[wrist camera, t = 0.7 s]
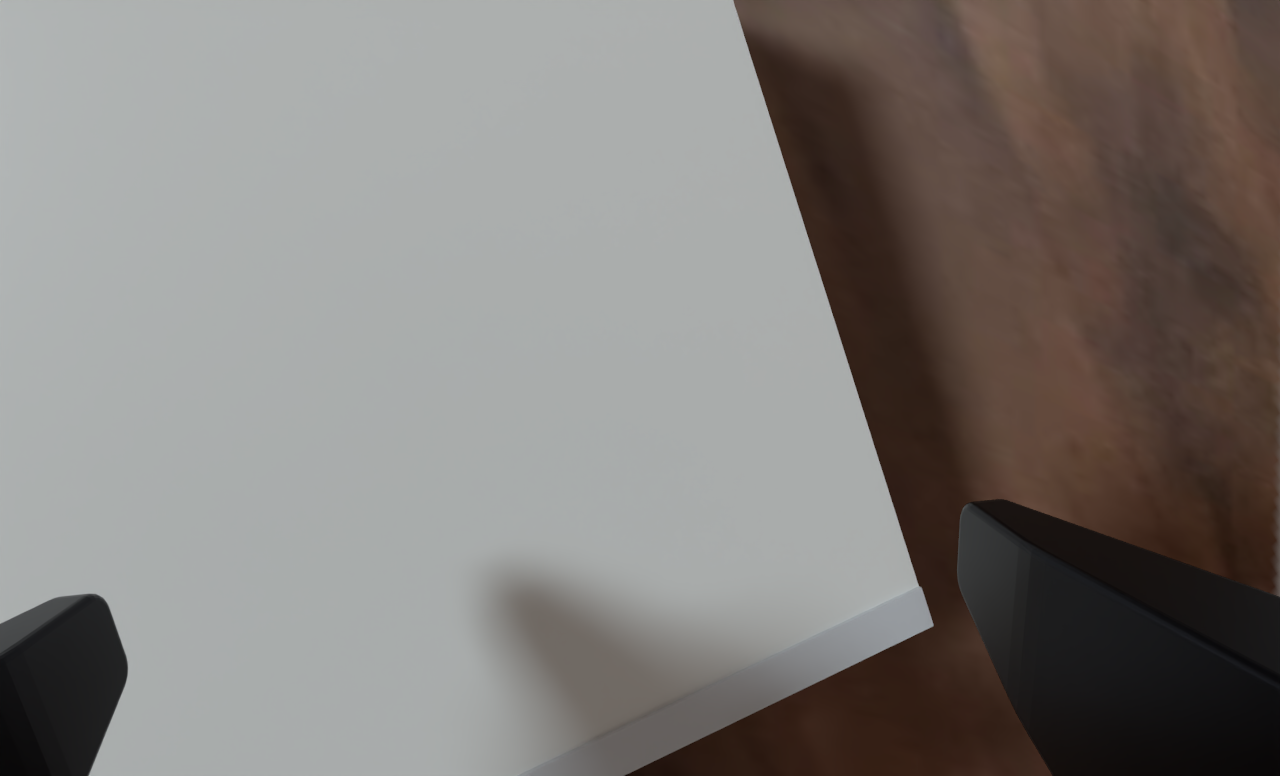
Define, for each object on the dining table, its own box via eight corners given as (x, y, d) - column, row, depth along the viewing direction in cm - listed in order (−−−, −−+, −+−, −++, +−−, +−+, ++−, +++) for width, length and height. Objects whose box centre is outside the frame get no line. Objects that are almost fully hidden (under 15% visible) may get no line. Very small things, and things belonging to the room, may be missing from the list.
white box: (784, 532, 23) (934, 626, 16) (261, 764, 20) (172, 993, 14) (594, -26, 21) (673, -196, 14) (-25, 156, 18) (-307, 59, 11)
